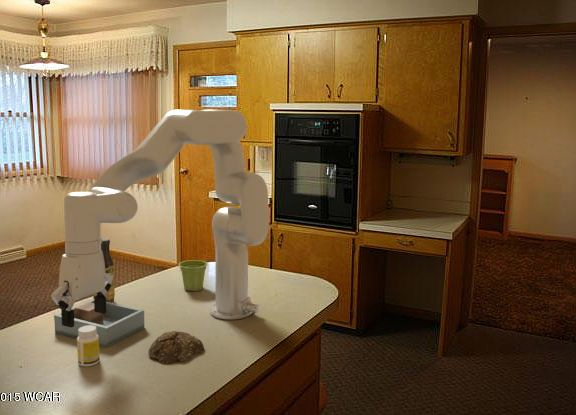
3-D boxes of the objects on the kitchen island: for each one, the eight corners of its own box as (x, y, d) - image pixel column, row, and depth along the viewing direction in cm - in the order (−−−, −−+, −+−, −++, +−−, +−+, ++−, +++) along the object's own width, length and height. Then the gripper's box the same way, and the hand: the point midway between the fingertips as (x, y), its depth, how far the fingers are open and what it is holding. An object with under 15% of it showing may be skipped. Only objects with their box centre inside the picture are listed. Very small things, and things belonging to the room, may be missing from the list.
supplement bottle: (104, 359, 126) (102, 326, 124) (90, 368, 122) (89, 334, 120) (87, 356, 127) (85, 323, 126) (73, 364, 123) (71, 330, 122)
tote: (144, 327, 145) (144, 310, 144) (107, 347, 132) (106, 328, 132) (94, 315, 152) (94, 298, 151) (55, 333, 140) (54, 315, 139)
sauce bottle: (108, 307, 159) (105, 243, 155) (89, 305, 160) (86, 241, 156) (119, 300, 165) (117, 238, 162) (100, 298, 166) (98, 236, 163)
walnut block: (103, 322, 145) (102, 304, 144) (89, 328, 141) (88, 311, 140) (89, 319, 147) (88, 301, 146) (75, 325, 143) (74, 307, 142)
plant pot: (174, 287, 178) (174, 262, 177) (199, 282, 184) (199, 258, 182) (186, 295, 171) (186, 269, 169) (212, 290, 176) (212, 264, 175)
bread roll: (170, 338, 139) (170, 320, 139) (210, 348, 134) (209, 329, 133) (137, 357, 128) (136, 338, 127) (178, 369, 123) (178, 349, 122)
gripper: (99, 237, 129) (100, 305, 131) (38, 252, 113) (41, 328, 116) (123, 241, 126) (123, 310, 128) (64, 257, 110) (66, 335, 113)
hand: (84, 319), depth 122 cm, fingers open, 9 cm apart
